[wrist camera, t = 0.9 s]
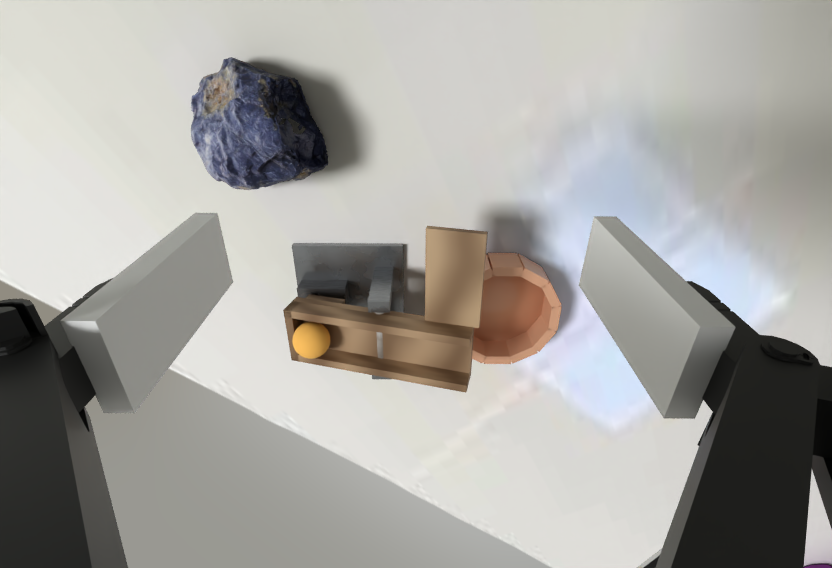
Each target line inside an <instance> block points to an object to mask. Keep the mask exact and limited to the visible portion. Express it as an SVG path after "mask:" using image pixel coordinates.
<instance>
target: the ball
mask: <svg viewBox="0 0 832 568" xmlns="http://www.w3.org/2000/svg"><path fill="white" fill-rule="evenodd" d="M292 342H293V347H294V349H295V351H296V352H297V353H298V354H299V355H300V356H302V357H304V358H308V359H313V358H317V357H320V356H321V355H323V354H324V353H325V352H326V351H327V349H328V348H329V345H330V334H329V332H328V330H327V328H326V327H325V326H324V325H322V324H320V323H318V322H306V323H303V324H302V325H300V326H299V327H298V328H297V329H296V330H295V332H294V335H293V340H292Z"/></svg>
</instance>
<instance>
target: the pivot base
mask: <svg viewBox="0 0 832 568" xmlns="http://www.w3.org/2000/svg"><path fill="white" fill-rule="evenodd" d="M292 250H293V257H294V264H295V271H296V278H297V285H298V288H297V293H298V297H301V298H306V297H307V296H308V295H309V294H311V295H318V296H324V297H331V298H338V299H345V304H348V305H355V306H361V307H368V312H377V313H390V311H395V312H402V313H404V290H403V244H298V243H293V245H292ZM372 379H391V378H386V377H380V376H375V375H372Z"/></svg>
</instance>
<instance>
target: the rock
mask: <svg viewBox="0 0 832 568" xmlns="http://www.w3.org/2000/svg"><path fill="white" fill-rule="evenodd" d="M199 85H200V87H199V89H198V92H197V93H196V94H195V95H193V96H192V102H191V108H192V111H193V112H194V116H193V117H194V120H193V122H192V125H191V137H192V141H193V144H194V146H195V147H196V149H197V152H198V154H199V155H200V157H201V159H202V161H203V163H204V166H205V168H206V170H207V171H208V173H209V174H210V175H211V176H212V177H213V178H214V179H215V180H217V181H223V182H225V183H227V184H228V185H230V186H231V187H233V188H235V189H244V190H251V189H259V188H260V187H268V186H271V185H273V184H276V183H279V182H282V181H283V182H284V181H286V180H287V181H289V180H291V179H293V180H295V181H296V180H301V179H305V178H306V177H307V176H309V175H310V174H311V173H313V172H316V171H319V170H321V169H323V168H324V167H325V166H326V165H328V156H327V151H326V146H325V142H324V138H323V135H322V133H321V132H320V130H319V128H318V127H317V125H316V123H315V121H314V120H313V118H312V116H311V113H310V111H309V107H308V105H307V103H306V101H305V97H304V95H303V92H302V89H301V86H300V85H299V82H298V81H297V80H295V78H288V77H285V76H281V75H276V74H271V73H268V72H266V71H265V70H263V69H257V68H255V67H253V66H251V65H249V64H248V63H246V62H243V61H240V60H237V59H235V58H228V59H224V61H223V64H222V67H221V70H220V71H219V72H218V73H214V74H210V75H208V76H205V77H203V79H202V80H201V82H200V83H199ZM281 118H285V119H287V120H286V121H285V123H284V124H281V125H279V123H280V122H281V121H282V119H281ZM288 118H291V119H293V120H294V121H295V122H297V123H299V124H300V125H299V127H298V128H299V130H301V129H302V127H304V128H305V131H304V132H303V133H302V134H296V133H293V130H292V125H291V124H290V122H289V121H288Z"/></svg>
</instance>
